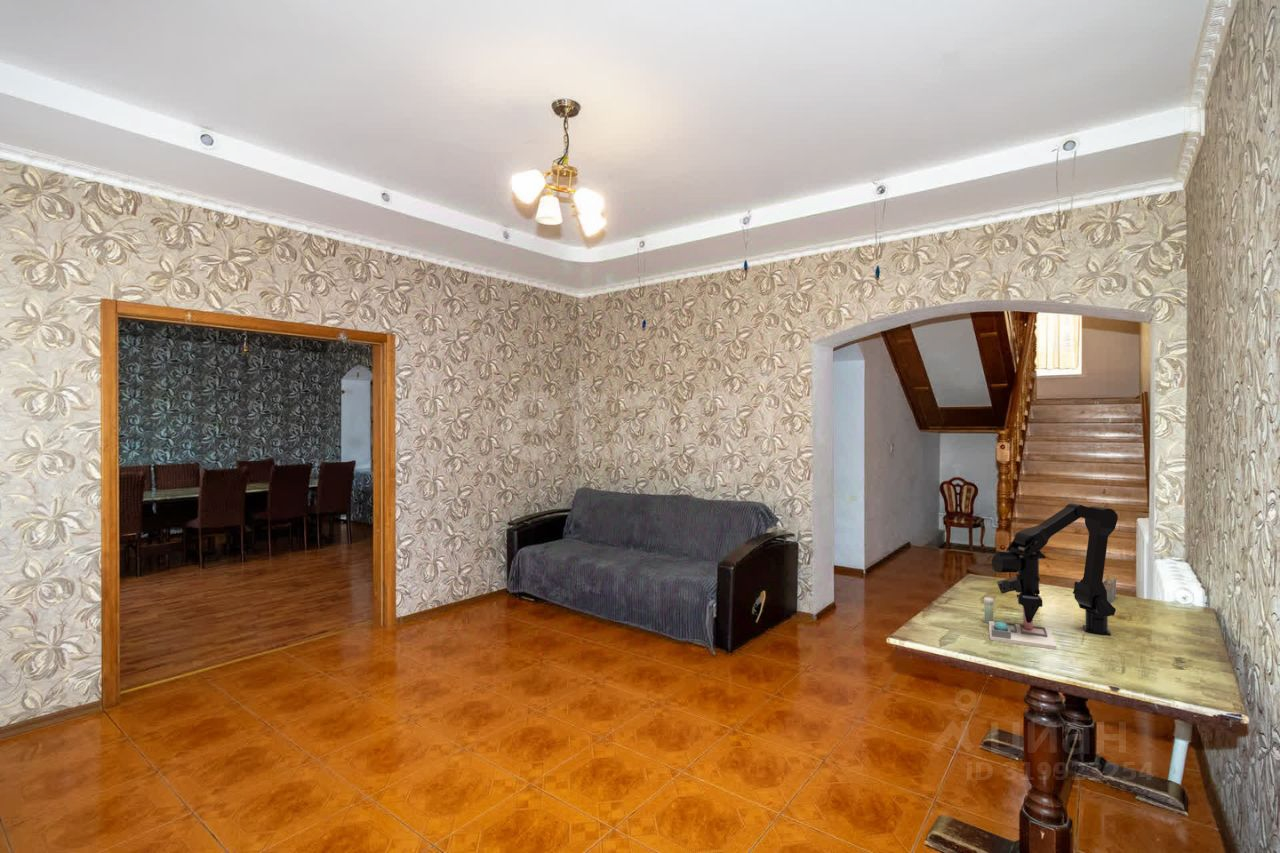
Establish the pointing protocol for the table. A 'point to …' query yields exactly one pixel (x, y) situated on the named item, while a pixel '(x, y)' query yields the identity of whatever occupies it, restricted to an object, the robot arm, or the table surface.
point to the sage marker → (988, 609)
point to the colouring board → (1023, 635)
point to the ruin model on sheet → (1110, 587)
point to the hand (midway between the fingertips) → (1028, 621)
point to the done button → (1000, 626)
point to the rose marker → (1025, 623)
